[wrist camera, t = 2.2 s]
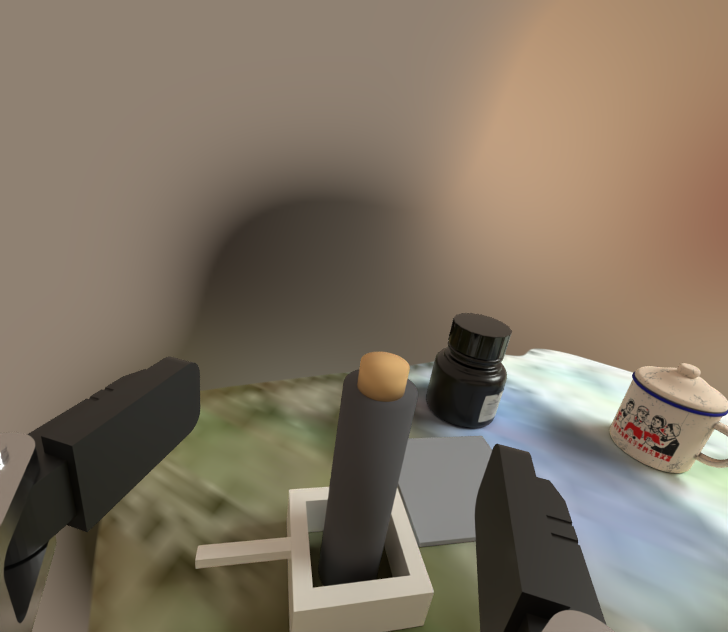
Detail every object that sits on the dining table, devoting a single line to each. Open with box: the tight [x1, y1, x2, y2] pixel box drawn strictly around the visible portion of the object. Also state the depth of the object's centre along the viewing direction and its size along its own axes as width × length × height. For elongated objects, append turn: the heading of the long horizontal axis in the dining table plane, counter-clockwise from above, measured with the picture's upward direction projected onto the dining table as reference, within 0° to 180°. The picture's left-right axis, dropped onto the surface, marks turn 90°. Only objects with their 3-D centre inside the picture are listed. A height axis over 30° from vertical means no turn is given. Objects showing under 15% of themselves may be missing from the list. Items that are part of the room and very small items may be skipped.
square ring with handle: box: [195, 487, 434, 632], centre depth 27 cm, size 15×9×4 cm, turn 102°
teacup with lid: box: [610, 363, 728, 473], centre depth 44 cm, size 12×9×12 cm
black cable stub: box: [318, 352, 418, 586], centre depth 25 cm, size 4×4×18 cm
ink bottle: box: [426, 313, 512, 428], centre depth 48 cm, size 10×9×12 cm
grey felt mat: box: [397, 436, 492, 547], centre depth 38 cm, size 12×12×1 cm
